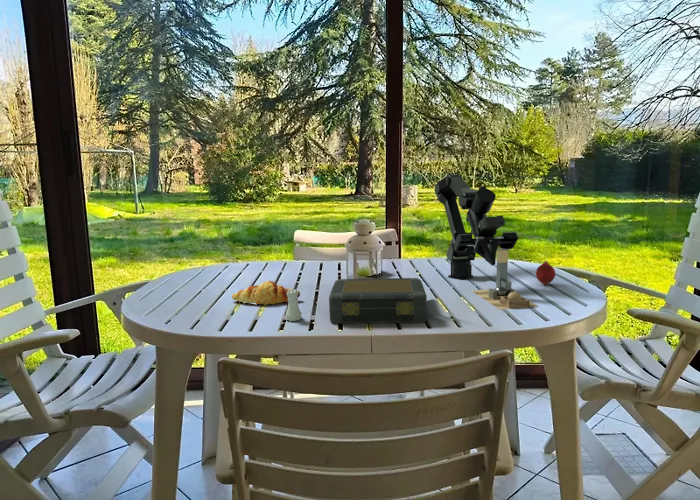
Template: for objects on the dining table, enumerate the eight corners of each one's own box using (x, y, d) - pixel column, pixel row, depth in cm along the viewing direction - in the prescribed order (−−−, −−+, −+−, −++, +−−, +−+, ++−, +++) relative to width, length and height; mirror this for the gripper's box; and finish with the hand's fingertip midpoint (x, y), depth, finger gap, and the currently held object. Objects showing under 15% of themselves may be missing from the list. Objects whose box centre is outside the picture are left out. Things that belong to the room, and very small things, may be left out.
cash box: (420, 302, 142) (420, 276, 141) (427, 324, 122) (427, 294, 121) (336, 303, 144) (335, 278, 142) (329, 325, 124) (328, 296, 122)
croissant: (230, 316, 145) (224, 296, 141) (237, 293, 153) (231, 274, 149) (300, 313, 144) (296, 294, 139) (303, 290, 152) (300, 271, 147)
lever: (494, 295, 139) (495, 248, 137) (504, 294, 139) (505, 248, 137) (502, 300, 134) (503, 251, 131) (513, 299, 134) (514, 251, 132)
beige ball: (504, 304, 130) (505, 292, 130) (511, 302, 133) (511, 289, 132) (517, 307, 128) (517, 294, 127) (523, 304, 130) (524, 291, 130)
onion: (556, 287, 153) (557, 262, 152) (537, 286, 154) (538, 262, 153) (552, 283, 159) (553, 259, 157) (534, 282, 160) (535, 259, 158)
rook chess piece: (285, 317, 131) (284, 288, 129) (302, 316, 131) (301, 287, 130) (285, 322, 126) (283, 292, 125) (302, 321, 126) (300, 291, 125)
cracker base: (471, 295, 146) (471, 283, 146) (505, 293, 148) (505, 281, 147) (499, 314, 127) (500, 300, 126) (539, 311, 128) (539, 298, 128)
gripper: (457, 207, 143) (470, 250, 134) (516, 205, 146) (533, 246, 137) (448, 231, 152) (460, 272, 143) (504, 228, 155) (519, 268, 146)
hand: (493, 264), depth 142 cm, fingers closed
